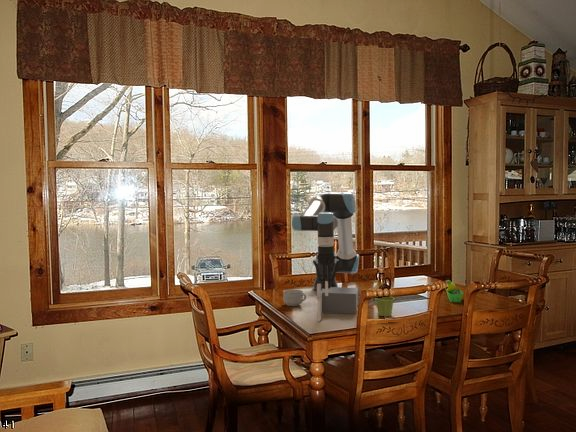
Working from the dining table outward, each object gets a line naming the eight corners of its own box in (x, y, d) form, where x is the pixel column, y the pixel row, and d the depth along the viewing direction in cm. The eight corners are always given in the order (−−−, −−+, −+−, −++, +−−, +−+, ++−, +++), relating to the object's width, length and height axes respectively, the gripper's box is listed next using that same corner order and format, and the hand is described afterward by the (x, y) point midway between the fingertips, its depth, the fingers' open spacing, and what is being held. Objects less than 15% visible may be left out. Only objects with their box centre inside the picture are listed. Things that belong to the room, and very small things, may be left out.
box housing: (323, 305, 248) (323, 286, 247) (357, 306, 244) (357, 287, 244) (320, 312, 234) (320, 292, 233) (356, 313, 230) (356, 293, 230)
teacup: (279, 305, 250) (278, 290, 249) (294, 301, 257) (294, 287, 256) (296, 310, 239) (295, 294, 239) (311, 306, 246) (311, 291, 246)
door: (323, 311, 234) (322, 278, 233) (321, 321, 217) (320, 285, 216) (319, 311, 234) (318, 278, 233) (316, 321, 217) (316, 285, 216)
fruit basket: (463, 303, 249) (463, 282, 248) (446, 302, 251) (446, 281, 250) (460, 298, 260) (460, 278, 259) (443, 297, 262) (443, 277, 261)
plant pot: (373, 313, 231) (373, 296, 230) (391, 312, 232) (391, 295, 231) (378, 318, 222) (377, 300, 221) (397, 317, 222) (397, 299, 222)
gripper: (312, 246, 214) (313, 297, 215) (340, 246, 213) (341, 296, 215) (311, 244, 221) (312, 293, 222) (338, 244, 221) (339, 293, 222)
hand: (326, 295), depth 219 cm, fingers closed
